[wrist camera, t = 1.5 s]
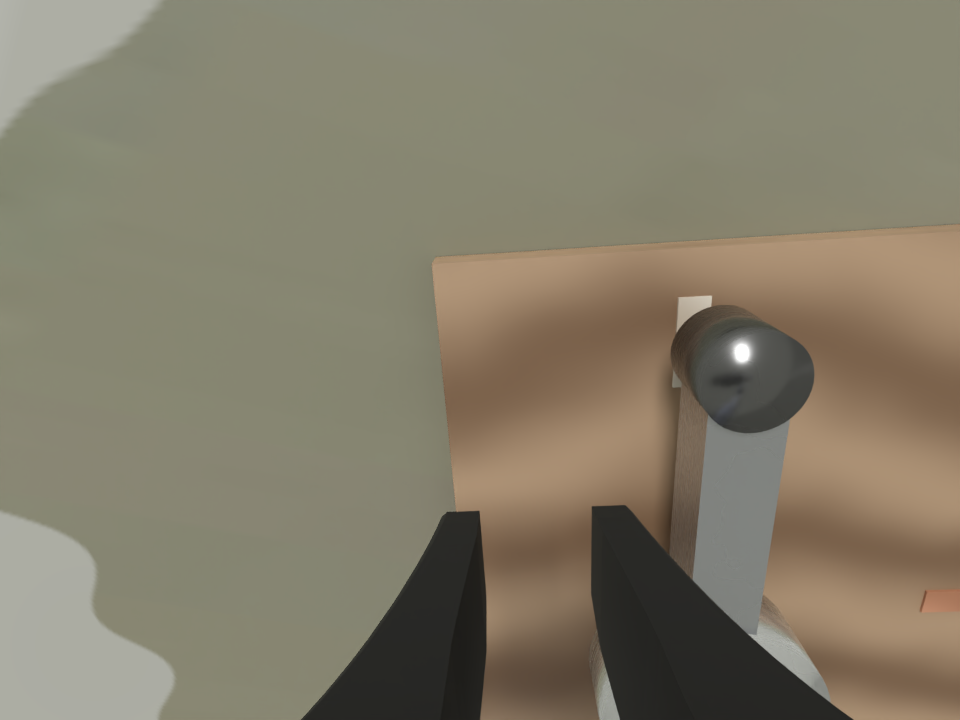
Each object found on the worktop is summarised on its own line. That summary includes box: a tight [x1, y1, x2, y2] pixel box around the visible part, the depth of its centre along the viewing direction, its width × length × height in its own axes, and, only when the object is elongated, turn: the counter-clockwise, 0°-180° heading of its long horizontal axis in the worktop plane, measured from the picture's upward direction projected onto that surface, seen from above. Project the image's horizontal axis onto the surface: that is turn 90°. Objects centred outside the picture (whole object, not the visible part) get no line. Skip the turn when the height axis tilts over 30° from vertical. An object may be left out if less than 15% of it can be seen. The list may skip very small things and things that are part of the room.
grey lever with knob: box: [589, 305, 831, 720], centre depth 16 cm, size 16×7×2 cm, turn 4°
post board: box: [432, 224, 960, 720], centre depth 19 cm, size 22×22×3 cm
